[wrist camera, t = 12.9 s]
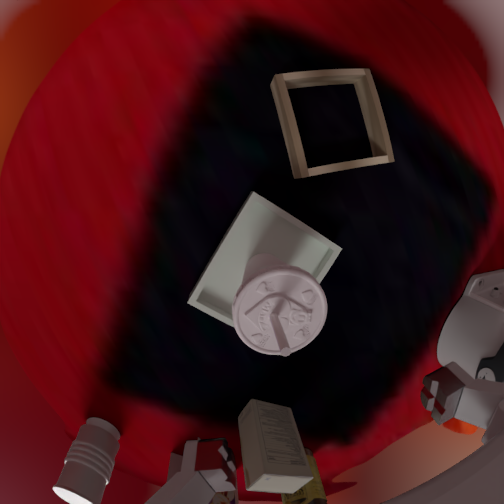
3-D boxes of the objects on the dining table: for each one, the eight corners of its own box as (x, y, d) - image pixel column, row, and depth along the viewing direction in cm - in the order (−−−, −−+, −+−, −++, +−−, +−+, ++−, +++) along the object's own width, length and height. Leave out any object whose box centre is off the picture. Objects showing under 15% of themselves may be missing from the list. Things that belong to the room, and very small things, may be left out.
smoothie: (233, 236, 26) (238, 290, 13) (300, 241, 27) (366, 296, 13) (228, 300, 28) (230, 396, 14) (291, 303, 28) (338, 393, 15)
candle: (76, 412, 32) (42, 481, 17) (113, 417, 32) (84, 495, 17) (93, 440, 33) (68, 505, 19) (129, 444, 34) (109, 517, 19)
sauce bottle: (287, 443, 35) (314, 551, 16) (319, 447, 36) (353, 544, 17) (267, 463, 36) (284, 562, 17) (298, 467, 38) (322, 558, 18)
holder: (357, 77, 24) (369, 68, 22) (379, 162, 27) (394, 161, 24) (270, 85, 24) (274, 74, 21) (294, 178, 27) (301, 177, 24)
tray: (251, 191, 27) (253, 191, 24) (333, 243, 28) (342, 248, 26) (190, 293, 28) (187, 302, 26) (271, 335, 30) (274, 346, 28)
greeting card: (240, 468, 36) (247, 541, 22) (203, 477, 37) (202, 545, 22) (203, 435, 34) (199, 522, 19) (163, 445, 34) (150, 524, 19)
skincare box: (236, 417, 33) (242, 490, 21) (251, 396, 32) (261, 473, 20) (277, 427, 34) (293, 495, 22) (293, 408, 33) (315, 478, 22)
